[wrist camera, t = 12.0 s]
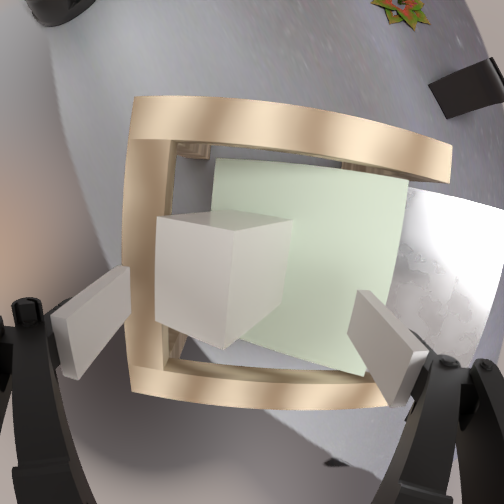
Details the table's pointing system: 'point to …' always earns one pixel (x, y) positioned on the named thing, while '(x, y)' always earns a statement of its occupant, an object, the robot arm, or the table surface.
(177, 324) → the white rectangular block
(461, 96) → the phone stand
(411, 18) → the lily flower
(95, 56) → the table surface
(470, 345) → the trapdoor
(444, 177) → the trapdoor frame
